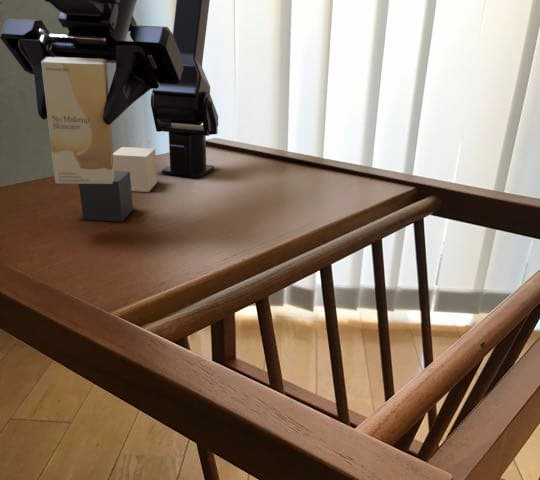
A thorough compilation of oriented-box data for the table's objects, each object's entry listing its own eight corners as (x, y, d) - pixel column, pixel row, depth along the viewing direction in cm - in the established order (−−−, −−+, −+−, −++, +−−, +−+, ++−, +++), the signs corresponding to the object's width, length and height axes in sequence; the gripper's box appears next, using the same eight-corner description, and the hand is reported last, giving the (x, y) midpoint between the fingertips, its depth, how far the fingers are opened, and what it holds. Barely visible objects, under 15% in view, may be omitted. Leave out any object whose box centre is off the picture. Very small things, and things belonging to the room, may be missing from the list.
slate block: (95, 207, 83) (91, 169, 80) (133, 209, 82) (129, 171, 80) (82, 219, 78) (78, 179, 76) (122, 222, 78) (118, 181, 76)
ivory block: (124, 181, 94) (121, 146, 92) (157, 182, 94) (155, 148, 91) (114, 190, 90) (111, 154, 87) (148, 192, 90) (146, 156, 87)
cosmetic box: (55, 185, 68) (36, 60, 61) (59, 174, 71) (42, 56, 65) (116, 184, 69) (104, 61, 62) (117, 174, 72) (106, 57, 66)
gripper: (-8, -73, 63) (-55, 59, 59) (167, -69, 59) (128, 71, 56) (46, 13, 73) (9, 130, 70) (197, 21, 70) (166, 144, 67)
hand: (73, 119), depth 65 cm, fingers closed on cosmetic box, 7 cm apart
